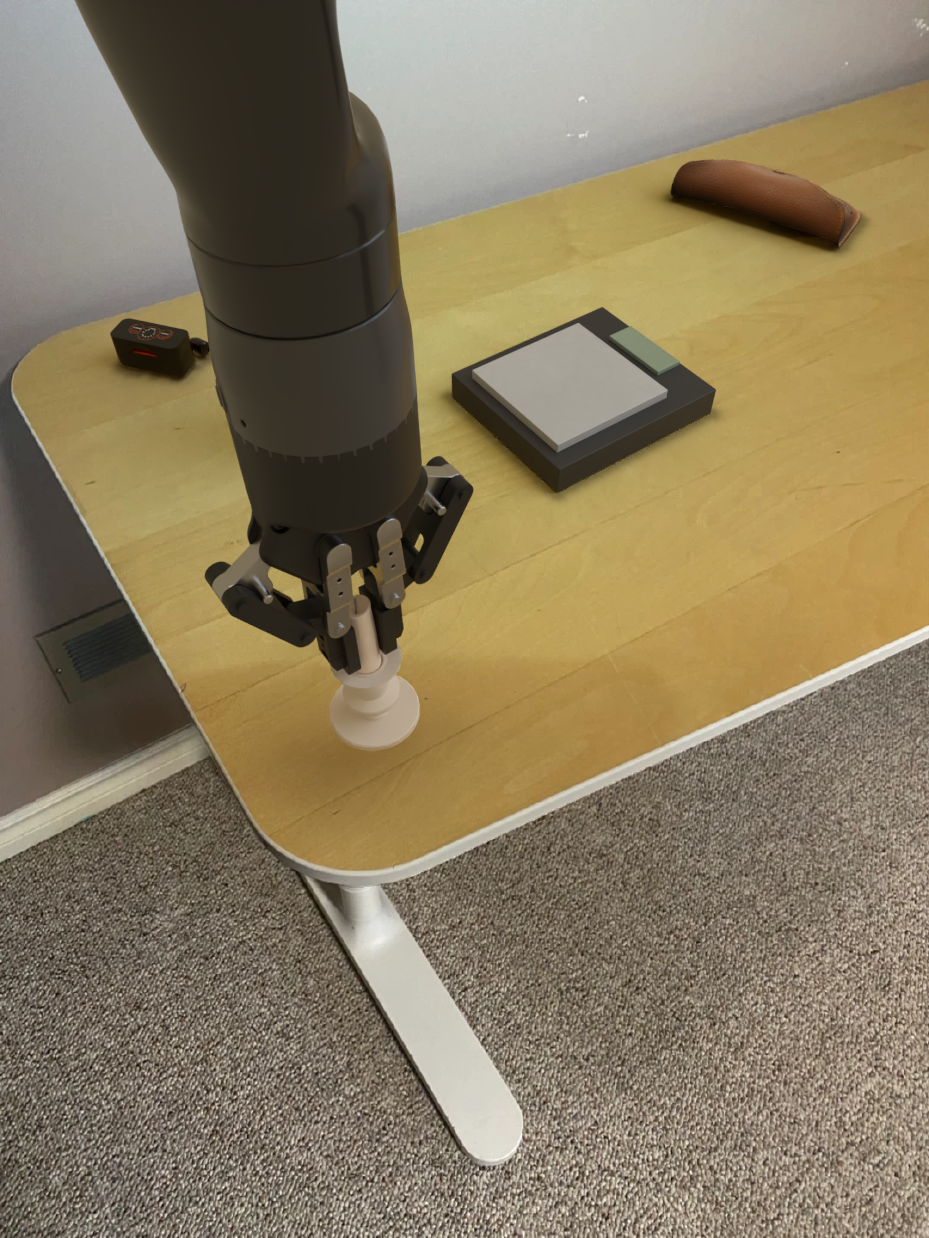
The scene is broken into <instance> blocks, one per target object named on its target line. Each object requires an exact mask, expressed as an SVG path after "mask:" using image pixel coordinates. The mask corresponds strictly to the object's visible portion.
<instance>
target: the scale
mask: <svg viewBox="0 0 929 1238" xmlns="http://www.w3.org/2000/svg"><path fill="white" fill-rule="evenodd" d="M716 392H717V388H715V387H713V386H712V385H711V384H710V383H708V382H707V381H706V380H704V379H703V378H701V377H700V376H698V375H697V374H696V373H694V372H693V371H692V370H690V369H689V368H687V366H685V365H683V364H682V363H681V360H679V359H678V358H676V357H675V356H673V355H672V354H671V353H669V352H668V351H667V350H665V349H664V348H663V347H661V346H660V345H658V344H657V343H656V342H654V341H653V340H651V339H650V338H649V337H648V336H646V335H644V334H643V333H642V332H640V331H639V330H638V329H636V328H635V327H633V326H631V325H628V324H627V323H626V322H624V321H623V320H621V319H620V318H619V317H617V316H616V315H615V314H613V313H611V312H610V311H609V310H607V308H605V307H603V306H601V307H598V308H596V309H594V310H592V311H589V312H587V313H585V314H583V315H581V316H578V317H575V318H574V319H571V320H569V321H567V322H565V323H563V324H560V325H558V326H555V327H554V328H551V329H549V330H547V331H544V332H542V333H540V334H537V335H536V336H533V337H531V338H529V339H526V340H524V341H522V342H520V343H518V344H515V345H513V346H510V347H508V348H506V349H503V350H501V351H500V352H497V353H494V354H493V355H490V356H488V357H486V358H484V359H481V360H479V361H477V362H475V363H472V364H470V365H468V366H465V367H463V368H460V369H459V370H456V371H454V372H452V373H451V397H452V399H453V400H455V401H456V402H457V403H458V404H459V405H460V406H461V407H463V408H464V409H465V411H467V412H468V413H469V414H470V415H471V416H472V417H473V418H474V419H476V420H477V421H478V422H479V423H480V424H481V425H482V426H483V427H484V428H485V429H487V430H488V431H489V432H490V434H492V435H493V436H494V437H495V438H497V440H499V442H500V443H502V444H503V445H504V446H505V447H507V449H508V450H510V451H511V452H512V453H513V454H514V455H515V456H516V457H517V458H518V459H519V460H520V461H521V462H523V463H524V464H525V465H526V466H527V468H529V469H530V470H532V471H533V473H535V474H536V475H537V476H538V477H539V478H540V479H541V480H542V481H544V483H546V484H547V485H548V486H549V487H550V488H551V489H552V490H553V491H554V492H555V493H559V492H561V491H563V490H566V489H567V488H570V487H571V486H573V485H575V484H577V483H578V482H581V481H582V480H584V479H586V478H589V477H590V476H592V475H594V474H596V473H598V472H600V471H602V470H604V469H606V468H607V467H609V466H611V465H613V464H616V463H617V462H619V461H621V460H623V459H624V458H626V457H628V456H631V455H632V454H634V453H636V452H638V451H640V450H643V449H644V448H645V447H648V446H649V445H651V444H653V443H655V442H657V441H659V440H661V439H663V438H665V437H667V436H669V435H670V434H673V433H674V432H677V431H678V430H681V429H683V428H684V427H686V426H688V425H689V424H692V423H693V422H696V421H697V420H700V419H701V418H703V417H705V416H707V415H709V414H711V412H712V409H713V404H714V400H715V397H716Z"/></svg>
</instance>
